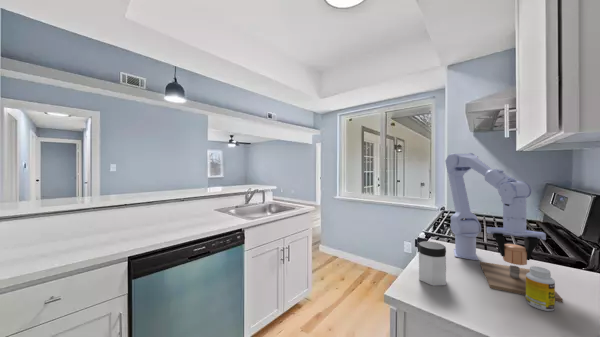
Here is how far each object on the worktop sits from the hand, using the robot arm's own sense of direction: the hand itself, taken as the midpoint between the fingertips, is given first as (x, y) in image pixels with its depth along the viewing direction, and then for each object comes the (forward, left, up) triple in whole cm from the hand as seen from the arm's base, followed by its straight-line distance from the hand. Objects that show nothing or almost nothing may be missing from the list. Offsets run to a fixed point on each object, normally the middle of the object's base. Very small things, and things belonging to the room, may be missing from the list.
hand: (514, 257), depth 77 cm
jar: (+13, -24, -8) cm, 28 cm away
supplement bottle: (+15, +2, -8) cm, 17 cm away
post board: (0, 0, -8) cm, 8 cm away
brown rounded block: (0, 0, -1) cm, 1 cm away
